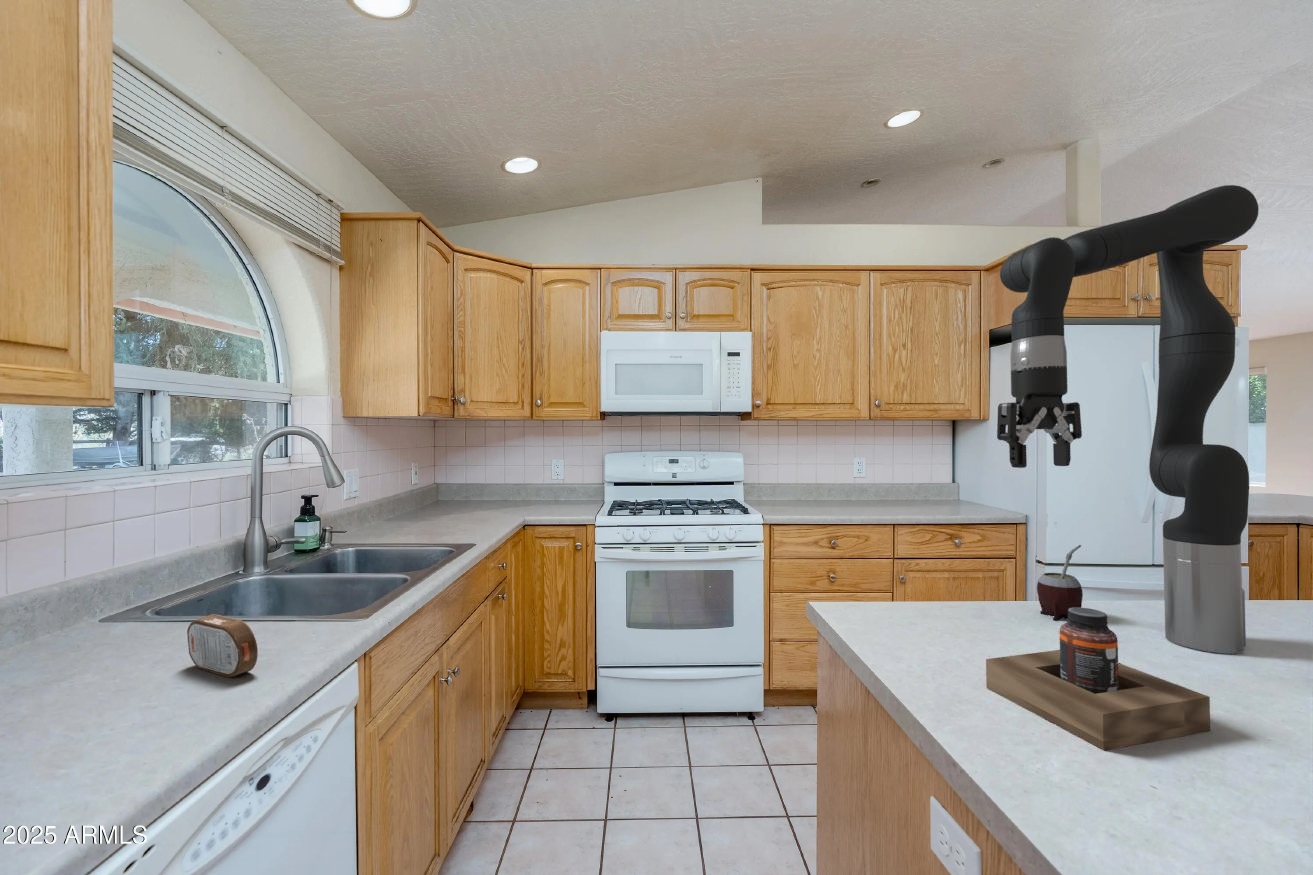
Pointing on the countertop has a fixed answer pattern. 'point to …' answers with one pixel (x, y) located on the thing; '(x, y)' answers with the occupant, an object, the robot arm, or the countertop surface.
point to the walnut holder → (1100, 702)
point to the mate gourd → (1059, 592)
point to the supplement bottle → (1089, 651)
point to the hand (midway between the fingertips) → (1040, 466)
